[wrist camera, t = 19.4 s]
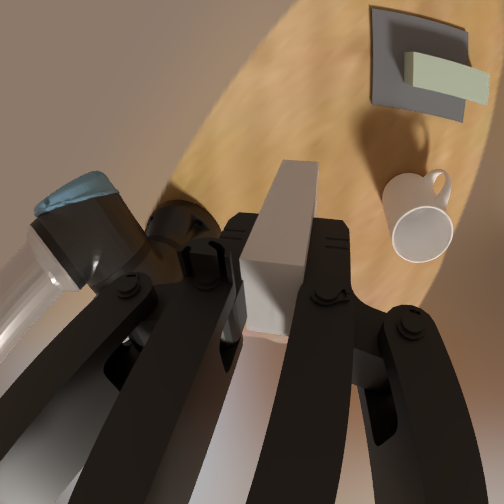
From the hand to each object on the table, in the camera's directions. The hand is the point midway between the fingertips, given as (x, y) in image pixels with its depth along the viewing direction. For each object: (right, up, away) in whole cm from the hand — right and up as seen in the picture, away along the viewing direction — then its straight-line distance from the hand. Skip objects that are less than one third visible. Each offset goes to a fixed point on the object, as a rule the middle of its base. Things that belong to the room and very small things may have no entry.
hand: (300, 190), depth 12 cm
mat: (+20, +22, +15) cm, 33 cm away
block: (+17, +20, +14) cm, 30 cm away
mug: (+22, +7, +26) cm, 35 cm away
